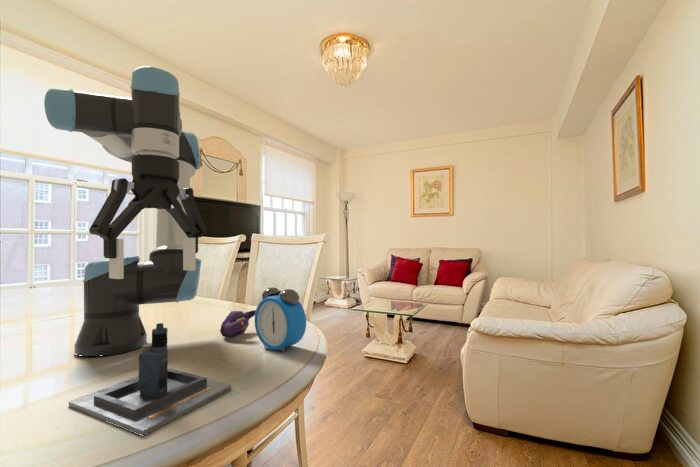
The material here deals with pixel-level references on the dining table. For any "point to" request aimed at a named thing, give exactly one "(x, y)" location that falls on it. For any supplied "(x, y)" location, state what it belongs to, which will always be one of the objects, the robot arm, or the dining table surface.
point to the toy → (236, 323)
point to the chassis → (149, 401)
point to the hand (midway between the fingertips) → (156, 274)
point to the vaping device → (154, 364)
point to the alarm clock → (280, 319)
